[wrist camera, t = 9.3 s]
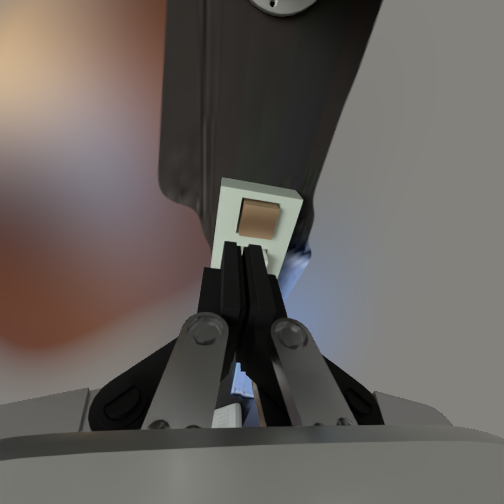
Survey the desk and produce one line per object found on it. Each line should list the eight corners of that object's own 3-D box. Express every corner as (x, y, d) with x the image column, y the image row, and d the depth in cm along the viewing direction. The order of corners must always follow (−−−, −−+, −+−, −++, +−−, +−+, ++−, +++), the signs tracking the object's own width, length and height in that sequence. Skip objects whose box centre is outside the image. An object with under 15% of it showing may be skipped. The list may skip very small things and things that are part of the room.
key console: (222, 177, 35) (221, 185, 31) (295, 190, 37) (303, 200, 33) (207, 292, 47) (205, 308, 43) (263, 297, 49) (265, 313, 45)
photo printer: (217, 414, 78) (215, 462, 67) (209, 410, 75) (206, 458, 65) (243, 405, 76) (245, 453, 65) (236, 400, 73) (237, 449, 63)
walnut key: (243, 194, 34) (245, 204, 31) (275, 200, 35) (279, 209, 32) (238, 224, 37) (239, 235, 34) (267, 228, 38) (271, 240, 35)
